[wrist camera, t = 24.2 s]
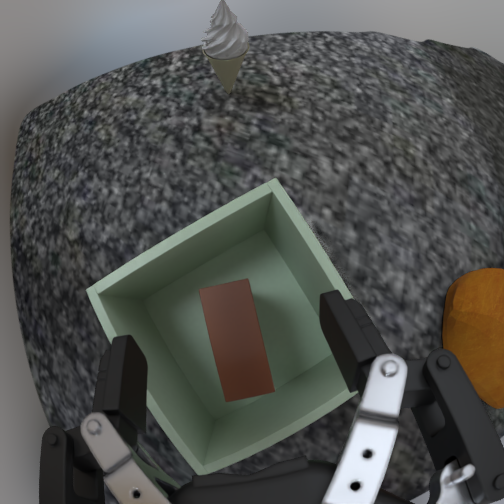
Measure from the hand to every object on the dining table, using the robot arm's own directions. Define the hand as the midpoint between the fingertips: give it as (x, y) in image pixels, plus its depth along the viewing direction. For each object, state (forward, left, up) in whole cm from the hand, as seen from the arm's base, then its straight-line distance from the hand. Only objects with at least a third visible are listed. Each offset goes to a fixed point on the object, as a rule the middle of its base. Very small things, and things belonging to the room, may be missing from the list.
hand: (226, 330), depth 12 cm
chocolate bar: (0, -1, -16) cm, 16 cm away
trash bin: (0, -1, -17) cm, 17 cm away
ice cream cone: (+13, +24, -17) cm, 32 cm away
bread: (+23, -20, -17) cm, 35 cm away
